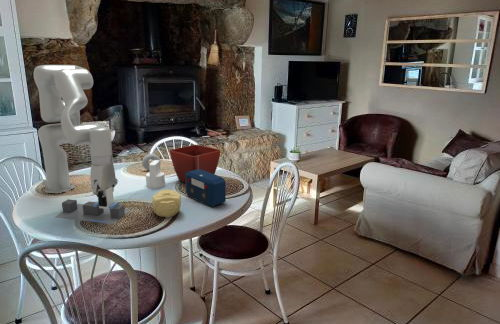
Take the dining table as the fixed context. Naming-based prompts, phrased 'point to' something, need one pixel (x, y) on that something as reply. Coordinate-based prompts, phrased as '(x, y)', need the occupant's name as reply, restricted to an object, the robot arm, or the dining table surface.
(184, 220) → the dining table surface
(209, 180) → the radio
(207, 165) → the plant pot
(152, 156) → the donut
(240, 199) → the dining table surface
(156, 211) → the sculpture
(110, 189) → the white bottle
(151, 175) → the cylinder with rectangular tab
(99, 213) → the grey toy block board
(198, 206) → the dining table surface
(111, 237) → the dining table surface
